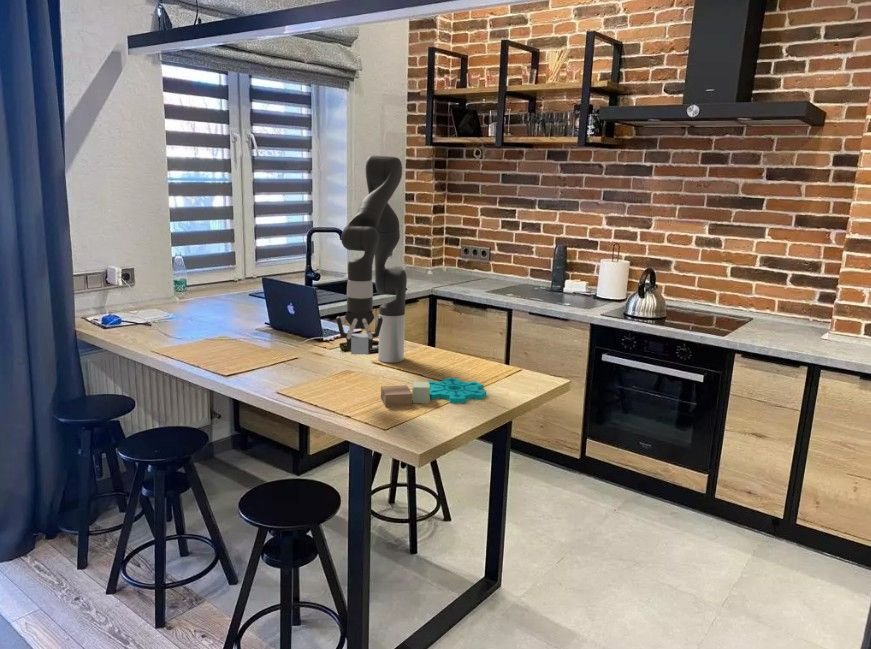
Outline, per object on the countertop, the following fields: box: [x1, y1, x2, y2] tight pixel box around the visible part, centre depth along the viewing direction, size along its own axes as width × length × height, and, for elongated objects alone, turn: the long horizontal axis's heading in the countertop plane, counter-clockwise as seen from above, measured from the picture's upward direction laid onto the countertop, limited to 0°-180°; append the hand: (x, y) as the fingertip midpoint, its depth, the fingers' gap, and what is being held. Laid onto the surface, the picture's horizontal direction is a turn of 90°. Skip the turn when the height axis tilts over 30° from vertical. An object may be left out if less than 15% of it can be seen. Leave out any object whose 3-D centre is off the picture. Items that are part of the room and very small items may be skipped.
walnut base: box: [380, 384, 413, 408], centre depth 196 cm, size 8×8×4 cm
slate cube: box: [350, 333, 369, 355], centre depth 195 cm, size 5×5×5 cm
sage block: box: [411, 381, 431, 404], centre depth 199 cm, size 5×5×5 cm
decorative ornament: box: [427, 377, 488, 404], centre depth 207 cm, size 20×2×20 cm
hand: (359, 350), depth 196 cm, fingers closed on slate cube, 5 cm apart
